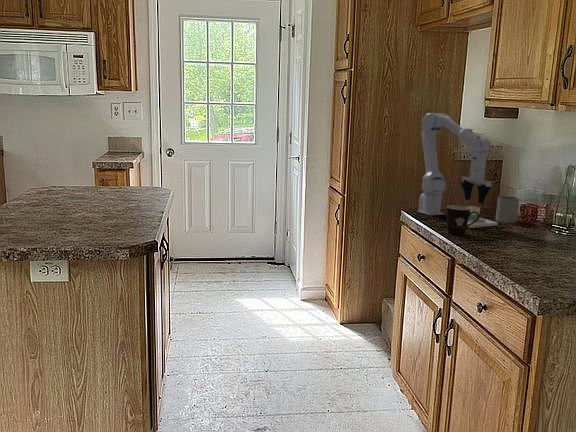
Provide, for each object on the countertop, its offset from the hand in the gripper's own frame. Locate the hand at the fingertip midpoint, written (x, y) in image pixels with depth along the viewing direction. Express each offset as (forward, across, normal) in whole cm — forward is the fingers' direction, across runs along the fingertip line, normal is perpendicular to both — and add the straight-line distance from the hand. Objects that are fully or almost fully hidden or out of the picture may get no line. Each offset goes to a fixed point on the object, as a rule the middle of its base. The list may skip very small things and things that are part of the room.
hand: (474, 201), depth 232 cm
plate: (+9, 0, 0) cm, 9 cm away
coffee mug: (+9, +14, -19) cm, 25 cm away
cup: (+9, +1, +18) cm, 20 cm away
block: (+8, 0, 0) cm, 8 cm away
